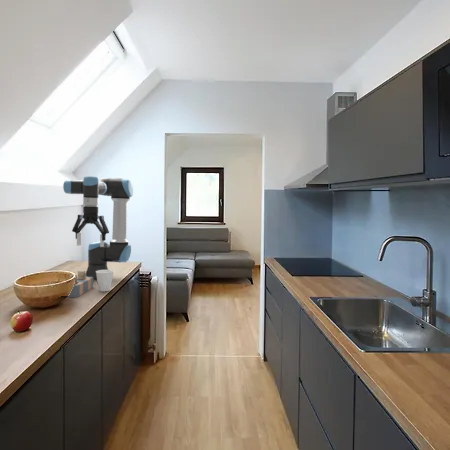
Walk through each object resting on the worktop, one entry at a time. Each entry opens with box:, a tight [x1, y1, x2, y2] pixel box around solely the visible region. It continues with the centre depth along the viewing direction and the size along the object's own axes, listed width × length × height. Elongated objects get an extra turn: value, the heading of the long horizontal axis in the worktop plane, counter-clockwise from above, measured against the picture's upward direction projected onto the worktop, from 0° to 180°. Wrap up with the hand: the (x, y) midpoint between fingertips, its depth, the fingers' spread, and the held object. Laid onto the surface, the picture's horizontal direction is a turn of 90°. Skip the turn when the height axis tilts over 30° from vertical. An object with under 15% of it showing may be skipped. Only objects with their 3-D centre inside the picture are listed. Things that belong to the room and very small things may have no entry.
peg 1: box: [68, 274, 78, 284], centre depth 216 cm, size 4×4×6 cm
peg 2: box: [77, 270, 86, 280], centre depth 228 cm, size 4×4×6 cm
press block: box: [67, 276, 94, 298], centre depth 223 cm, size 24×9×6 cm, turn 179°
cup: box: [96, 269, 115, 293], centre depth 227 cm, size 10×10×11 cm
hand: (90, 246), depth 214 cm, fingers open, 13 cm apart
